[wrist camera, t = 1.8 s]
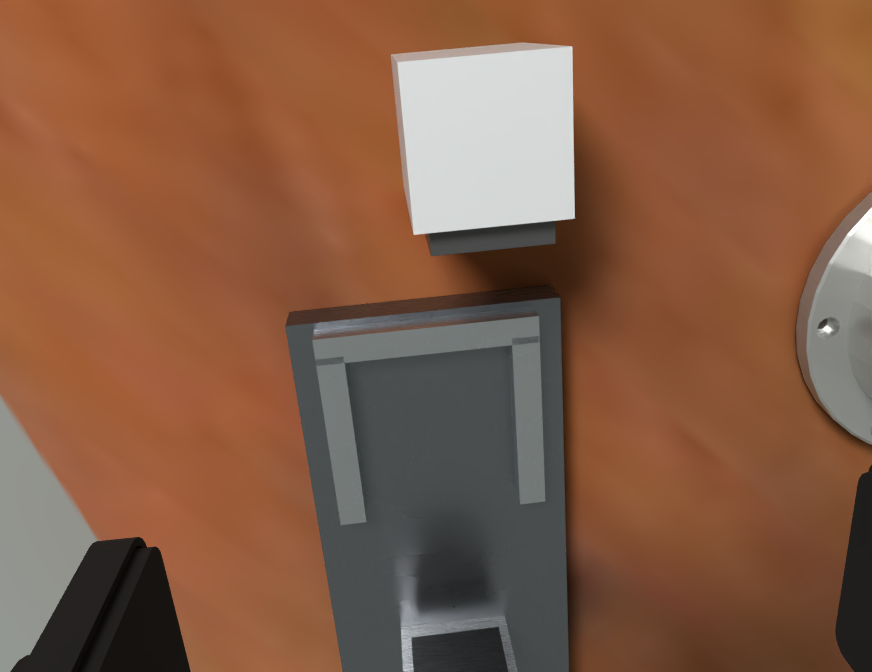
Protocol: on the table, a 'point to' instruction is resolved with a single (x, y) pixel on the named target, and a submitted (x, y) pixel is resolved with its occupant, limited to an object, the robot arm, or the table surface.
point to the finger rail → (439, 478)
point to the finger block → (486, 144)
